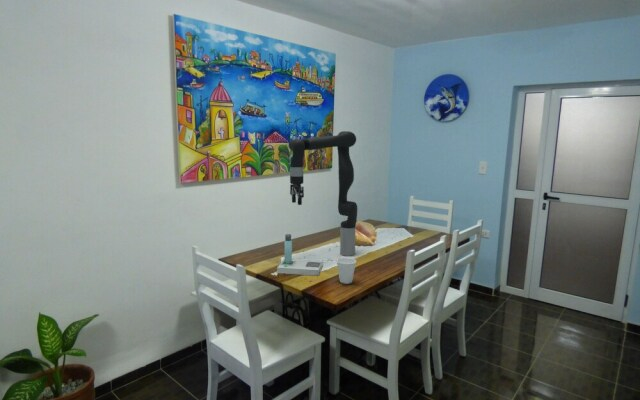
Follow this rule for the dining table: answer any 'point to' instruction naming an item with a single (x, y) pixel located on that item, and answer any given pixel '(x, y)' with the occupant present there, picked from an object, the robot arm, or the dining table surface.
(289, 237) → the plug
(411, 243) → the dining table surface
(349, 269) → the cup
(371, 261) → the dining table surface
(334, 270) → the dining table surface
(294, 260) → the panel
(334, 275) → the dining table surface
